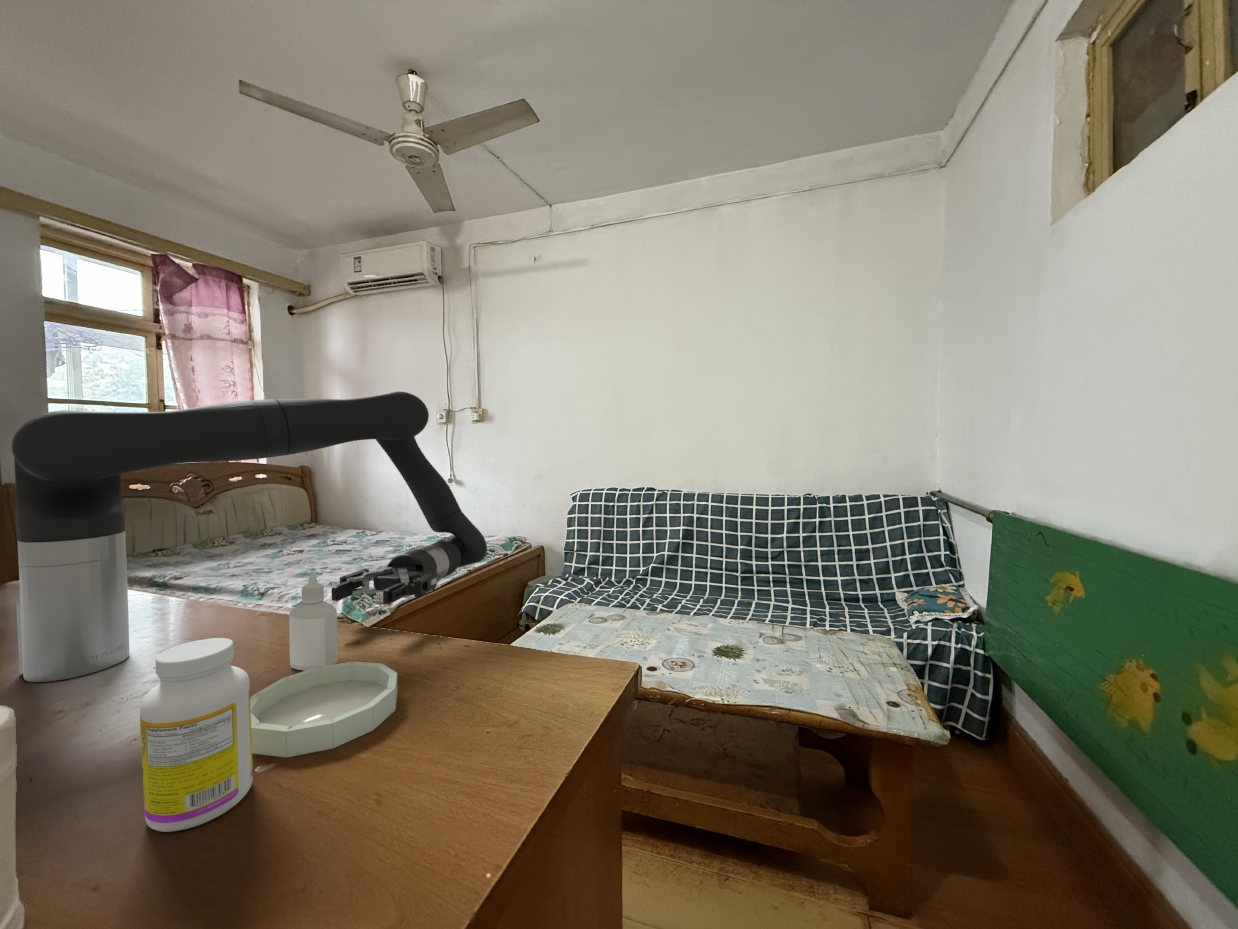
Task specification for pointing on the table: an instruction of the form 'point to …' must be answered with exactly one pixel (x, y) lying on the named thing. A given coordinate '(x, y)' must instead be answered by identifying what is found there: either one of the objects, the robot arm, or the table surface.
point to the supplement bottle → (195, 736)
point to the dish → (321, 708)
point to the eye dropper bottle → (313, 629)
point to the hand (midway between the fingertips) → (359, 596)
